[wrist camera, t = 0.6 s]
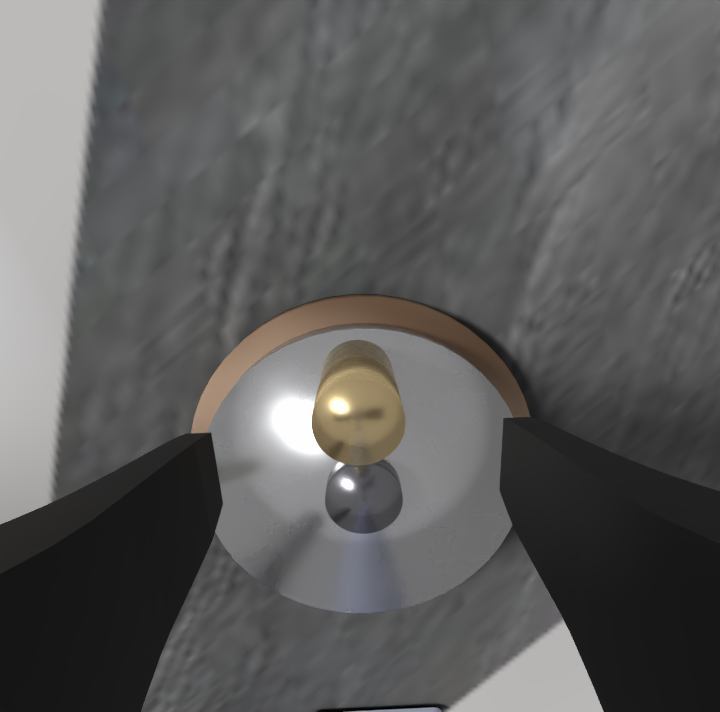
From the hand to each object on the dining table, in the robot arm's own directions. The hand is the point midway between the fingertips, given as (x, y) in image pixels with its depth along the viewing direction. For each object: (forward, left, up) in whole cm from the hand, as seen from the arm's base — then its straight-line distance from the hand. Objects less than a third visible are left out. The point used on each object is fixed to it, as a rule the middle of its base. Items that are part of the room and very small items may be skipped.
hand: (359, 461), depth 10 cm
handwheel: (-5, 0, -8) cm, 10 cm away
